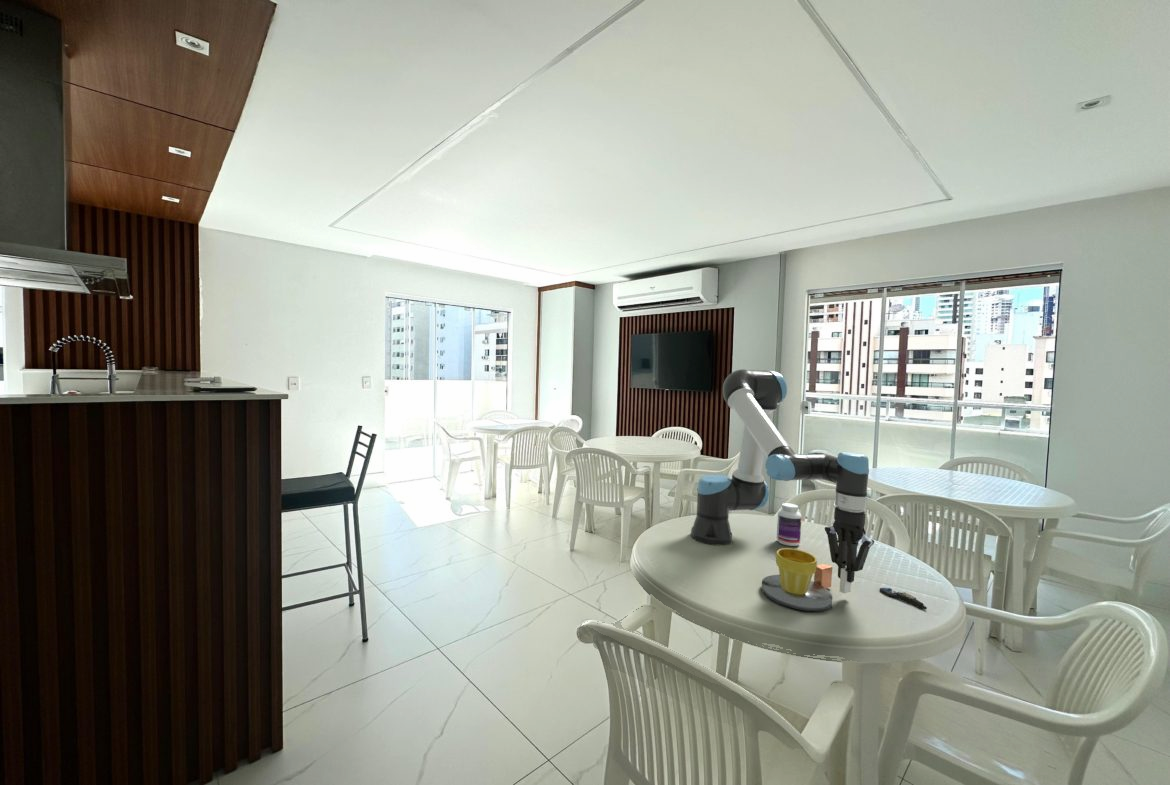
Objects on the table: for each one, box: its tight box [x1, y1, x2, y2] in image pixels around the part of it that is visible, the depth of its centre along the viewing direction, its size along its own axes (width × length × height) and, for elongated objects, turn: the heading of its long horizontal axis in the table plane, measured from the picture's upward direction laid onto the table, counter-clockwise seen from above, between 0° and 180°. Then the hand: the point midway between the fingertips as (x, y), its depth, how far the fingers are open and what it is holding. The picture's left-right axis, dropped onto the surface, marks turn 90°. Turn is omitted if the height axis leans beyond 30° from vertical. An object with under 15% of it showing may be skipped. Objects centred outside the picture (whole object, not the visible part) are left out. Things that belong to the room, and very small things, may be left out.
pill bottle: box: [776, 502, 802, 547], centre depth 167 cm, size 8×8×14 cm
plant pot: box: [775, 547, 818, 595], centre depth 126 cm, size 10×10×10 cm
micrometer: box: [879, 587, 928, 610], centre depth 127 cm, size 12×2×5 cm
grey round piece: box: [761, 563, 833, 612], centre depth 127 cm, size 18×23×6 cm
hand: (844, 591), depth 126 cm, fingers closed
